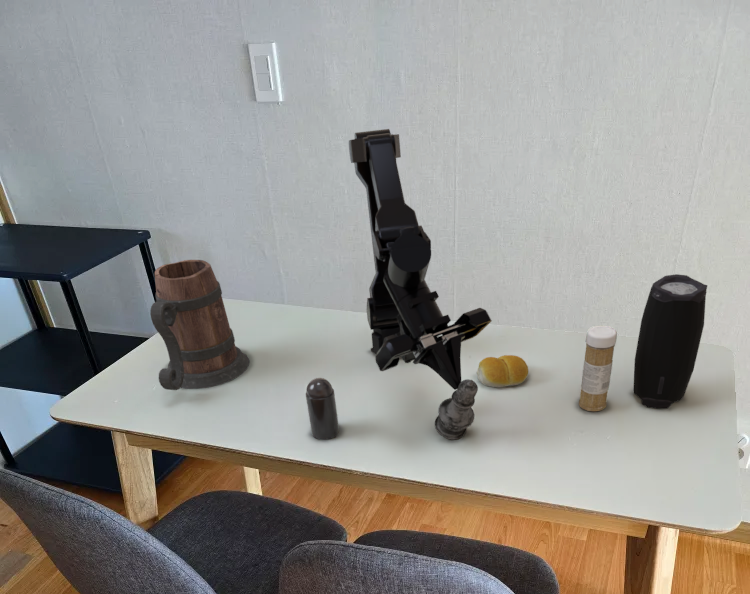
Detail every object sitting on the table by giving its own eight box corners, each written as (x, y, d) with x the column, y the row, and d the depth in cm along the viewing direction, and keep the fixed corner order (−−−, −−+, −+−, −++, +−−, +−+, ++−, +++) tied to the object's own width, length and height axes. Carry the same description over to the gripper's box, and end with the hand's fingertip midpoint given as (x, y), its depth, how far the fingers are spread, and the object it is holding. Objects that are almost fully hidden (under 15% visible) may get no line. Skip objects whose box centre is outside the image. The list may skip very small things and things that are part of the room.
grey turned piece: (465, 445, 111) (488, 401, 101) (429, 435, 111) (449, 389, 101) (470, 416, 114) (493, 370, 104) (436, 406, 114) (456, 359, 104)
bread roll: (534, 384, 123) (535, 364, 121) (484, 391, 123) (485, 371, 120) (519, 363, 130) (520, 343, 127) (472, 370, 129) (472, 350, 127)
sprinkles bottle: (594, 396, 119) (603, 321, 110) (612, 407, 115) (624, 331, 107) (572, 403, 117) (580, 329, 109) (590, 415, 114) (600, 339, 106)
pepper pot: (330, 421, 119) (323, 369, 113) (344, 433, 116) (337, 380, 110) (307, 431, 117) (298, 378, 111) (320, 442, 114) (312, 389, 108)
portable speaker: (642, 379, 122) (662, 269, 110) (695, 395, 116) (723, 280, 104) (618, 400, 117) (637, 286, 105) (673, 417, 112) (699, 300, 100)
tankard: (188, 346, 147) (163, 251, 135) (262, 350, 143) (243, 252, 131) (131, 403, 130) (96, 300, 117) (213, 409, 125) (186, 302, 113)
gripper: (440, 307, 118) (481, 388, 117) (346, 339, 111) (389, 426, 110) (469, 272, 108) (515, 361, 107) (368, 305, 101) (416, 400, 100)
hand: (458, 388), depth 106 cm, fingers closed, pressing on grey turned piece
